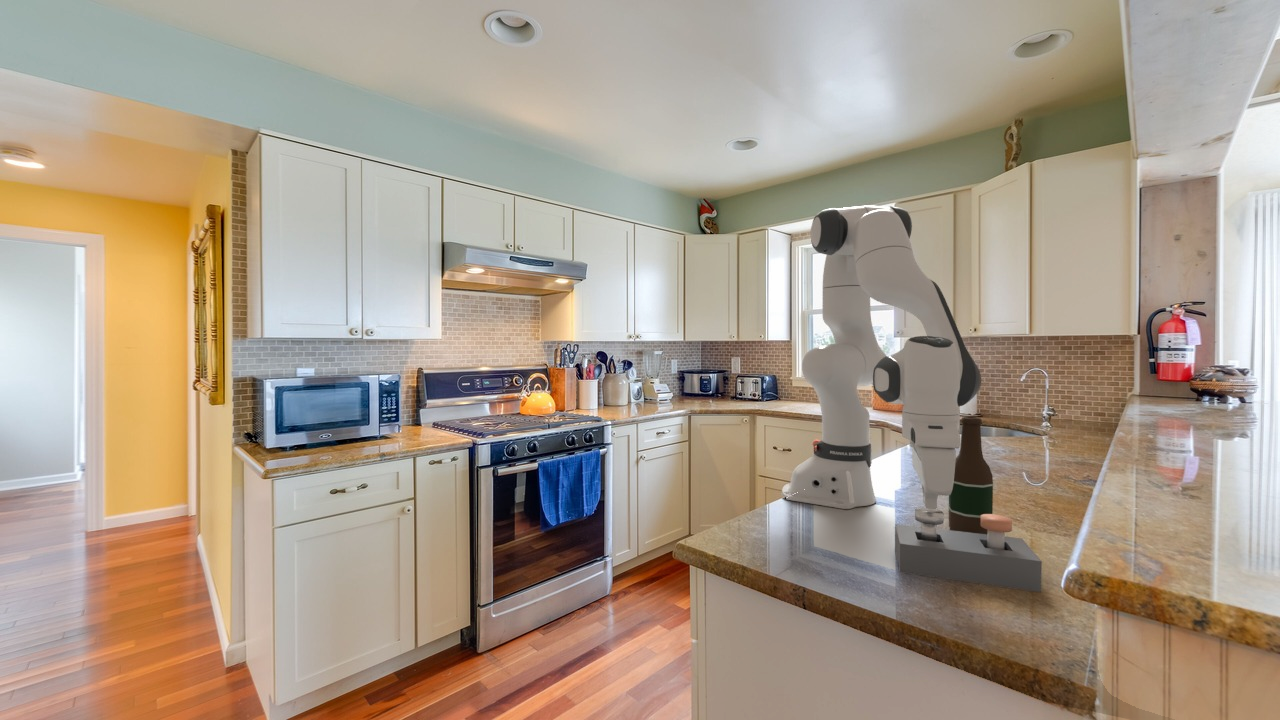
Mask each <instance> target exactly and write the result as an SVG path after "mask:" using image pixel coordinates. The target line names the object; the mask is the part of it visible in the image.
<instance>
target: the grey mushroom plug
mask: <svg viewBox="0 0 1280 720" xmlns="http://www.w3.org/2000/svg"><path fill="white" fill-rule="evenodd" d="M944 517H945V516H944V512H943V511H941V510H940V509H937V508H936V509H927V508H926V507H925V506H923V507H916V508H914V519H915V521H917V522H918V523H920V524H921V526H920V527H921V540H925V541H933V542H937V529H938V526H940V525H943V524H944V521H945V520H944Z"/></svg>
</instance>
